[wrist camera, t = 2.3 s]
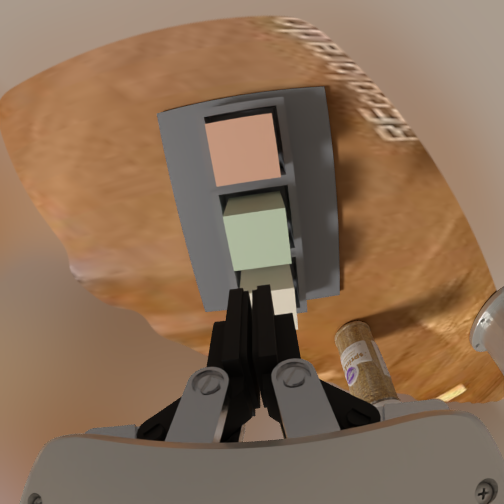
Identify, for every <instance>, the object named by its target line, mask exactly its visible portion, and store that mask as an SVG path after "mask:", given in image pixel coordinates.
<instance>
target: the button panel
mask: <svg viewBox="0 0 504 504" xmlns="http://www.w3.org/2000/svg"><path fill="white" fill-rule="evenodd" d="M269 113H272V119H273V125H274V132H275V138H276V145H277V152H278V159H279V166H280V173H281V177H278V178H271V179H264V180H257V181H250V182H244V183H237V184H231V185H225V186H219V187H217V186H216V181H215V176H214V171H213V165H212V160H211V155H210V150H209V144H208V139H207V134H206V128H205V124H208V123H213V122H218V121H224V120H229V119H235V118H241V117H248V116H254V115H261V114H269ZM157 117H158V123H159V128H160V133H161V138H162V143H163V148H164V153H165V157H166V162H167V167H168V171H169V176H170V180H171V184H172V189H173V193H174V197H175V201H176V206H177V210H178V214H179V218H180V222H181V226H182V230H183V234H184V237H185V241H186V245H187V249H188V253H189V256H190V260H191V264H192V267H193V271H194V274H195V278H196V281H197V285H198V288H199V292H200V295H201V298H202V302H203V305H204V308H205V312H210V311H220V310H227V306H228V297H229V290H230V289H237V288H240V280H241V270H239V271H234V269H233V264H232V259H231V255H230V250H229V245H228V240H227V235H226V230H225V226H224V221H223V214H224V211H225V208H226V205H227V202H228V199H229V198H234V197H240V196H247V195H254V194H261V193H268V192H275V191H280V193H281V196H282V199H283V203H284V206H285V211H286V219H287V227H288V236H289V244H290V253H291V263H292V264H289V265H290V270H291V275H292V280H293V284H294V291H295V302H296V313H303V312H307V301H306V300H309V299H316V298H322V297H329V296H335V295H340V270H339V233H338V212H337V196H336V182H335V170H334V159H333V149H332V140H331V132H330V123H329V116H328V108H327V101H326V94H325V88H324V87H308V88H296V89H285V90H276V91H268V92H260V93H253V94H246V95H240V96H234V97H228V98H223V99H217V100H212V101H207V102H203V103H198V104H193V105H189V106H185V107H181V108H177V109H173V110H169V111H165V112H161V113H157Z"/></svg>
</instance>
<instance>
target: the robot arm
mask: <svg viewBox="0 0 504 504" xmlns="http://www.w3.org/2000/svg"><path fill="white" fill-rule="evenodd" d="M470 343H471V345H472V347H473V348H474V349H475V350H476V351H479V352H482V351H488V353H489V354H490V356H491V357H492V358H493V360H494V361H495V363H496V364H497V366H498V367H499V369H500V370H501V372H502V373H503V375H504V287H502V288H501V289H499V290H498V291H497V292H496V293H495V294H494V295H493V296H492V297H491V298H490V299H489V300H488V301H487V302H486V303H485V305H484V306H483V308H482V309H481V310H480V312H479V314H478V315H477V317H476V319H475V321H474V323H473V326H472V328H471V332H470ZM260 392H261V397H262V401H263V405H264V407H265V408H266V407H267V409H268V413H269V416H270V417H271V418H273V419H274V420H276V421H278V422H279V423H280V427H281V431H282V434H283V438H284V439H279V440H268V441H255V442H243V438H244V433H245V423H246V422H247V421H248V420H250V419H251V418H252V416H255V409H256V408H260ZM20 504H504V460H503V458H502V455H501V453H500V451H499V449H498V447H497V444H496V443H495V441H494V439H493V437H492V435H491V434H490V432H489V430H488V429H487V428H486V426H485V425H484V424H483V422H482V421H481V420H480V419H479V418H478V417H476V416H475V415H474V414H471V413H469V412H465V411H460V410H450V409H449V407H448V406H447V404H445V403H444V402H443V401H440V400H434V399H432V400H423V401H414V402H404V403H391V404H384V406H383V407H375V406H374V405H372V404H370V403H368V402H366V401H364V400H362V399H360V398H358V397H355V396H353V395H351V394H349V393H347V392H345V391H343V390H341V389H339V388H336V387H334V386H332V385H330V384H328V383H326V382H324V381H322V380H320V379H319V378H318V375H317V373H316V370H315V368H314V367H313V365H312V364H311V363H309V362H308V361H306V360H303V359H301V357H300V351H299V346H298V340H297V334H296V329H295V323H294V318H293V313H287V314H279V315H275V314H274V307H273V301H272V294H271V287H270V284H268V285H260V286H257V290H252V306H251V300H250V295H249V291H244V290H243V288H237V289H230V290H229V297H228V306H227V314H226V321H220V322H215V323H214V325H213V331H212V337H211V343H210V349H209V356H208V362H207V367H205V368H202V369H200V370H198V371H196V372H195V373H194V374H192V375H191V377H190V378H189V380H188V382H187V385H186V387H185V390H184V392H183V395H182V397H180V398H179V399H178V400H176V401H175V402H173V403H172V404H170V405H169V406H167V407H166V408H164V409H163V410H162V411H160V412H159V413H157V414H156V415H154V416H153V417H151V418H150V419H148V420H147V421H145V422H144V423H143V424H142V425H141V426H139V427H137V426H136V425H135V424H134V425H125V426H115V427H103V428H93V429H90V430H88V431H87V432H85V434H70V435H65V436H60V437H57V438H54V439H52V440H50V441H48V442H47V443H46V444H45V445H44V446H43V448H42V449H41V451H40V452H39V454H38V456H37V458H36V460H35V462H34V464H33V466H32V469H31V471H30V474H29V476H28V479H27V482H26V484H25V487H24V490H23V494H22V497H21V501H20Z"/></svg>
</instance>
